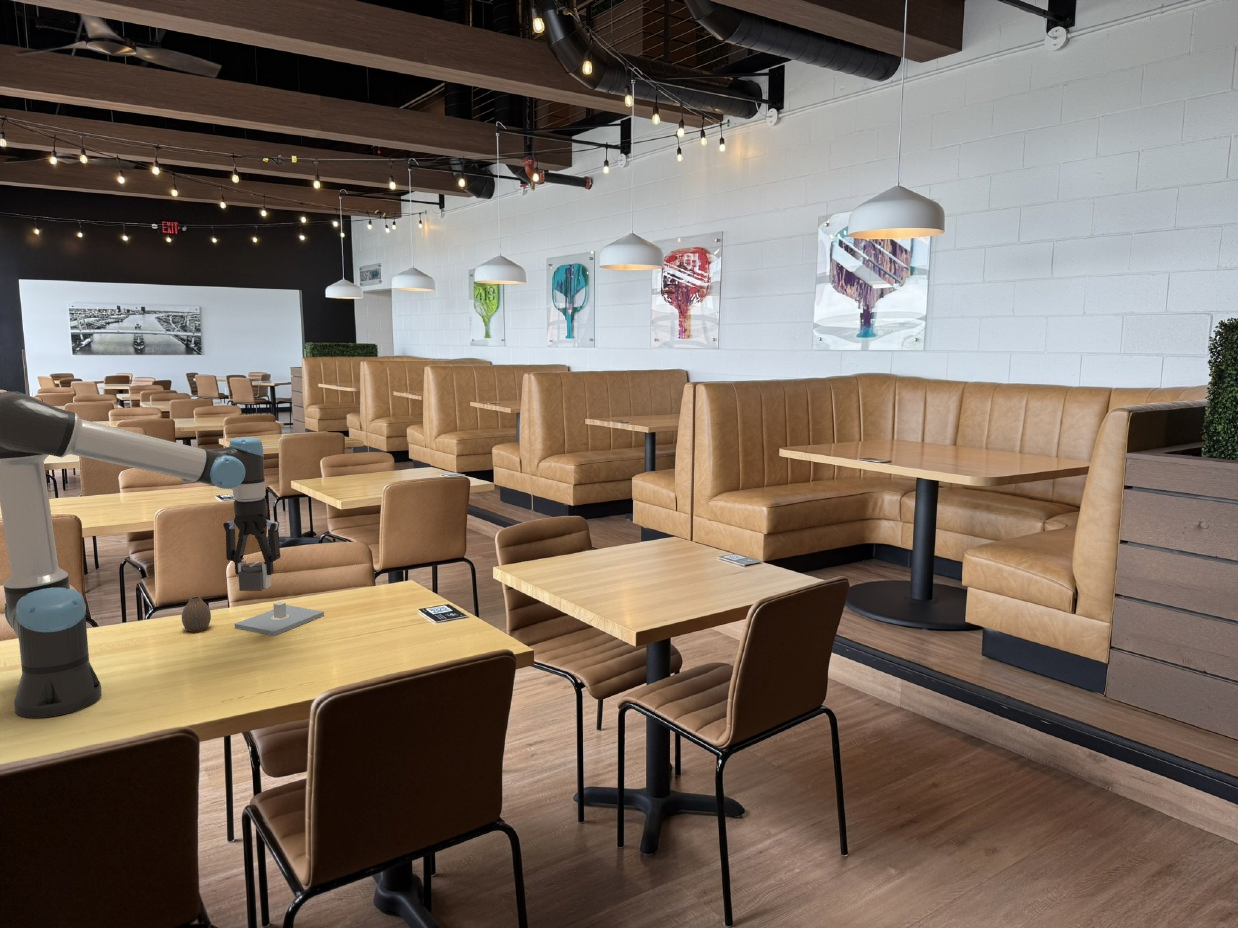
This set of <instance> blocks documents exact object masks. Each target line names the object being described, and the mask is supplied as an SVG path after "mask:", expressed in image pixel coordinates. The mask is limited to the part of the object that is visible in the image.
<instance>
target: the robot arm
mask: <svg viewBox="0 0 1238 928" xmlns="http://www.w3.org/2000/svg"><path fill="white" fill-rule="evenodd" d="M263 447H264V446H263V441H262V440H261V439H260V438H257V437H251V436H250V437H249V436H247V437H245V436H244V437H237V438H231V439H230V440H229V446H227V447H222V448H205V449H203V448H200V447H195V446H191V445H188V444H187V445H186V444H183V443H180V442H179V443H178V442H175V441H171V440H166V439H163V438H158V437H155V436H150V435H146V434H143V433H138V432H135V431H131V430H126V429H122V428H117V427H114V426H110V425H106V424H102V423H97V422H94V421H89V420H85V419H82V418H80V416H79V415H78V414H77V412H73V411H70V410H66V409H62V408H59V407H56V406H54V405H51V404H48V403H47V402H44V401H42V400H40V399H38V398H36V397H33V396H31V395H29V394H27V393H24V392H21V391H20V392H19V391H4V392H3V391H1V392H0V512H1V518H2V520H1V521H2V525H3V531H4V537H5V538H4V539H5V546H6V552H7V559H8V565H9V571H10V575H9V576H8V578H7V579H6V580H4V582H3V583H2V584H3V592H4V597H5V603H4V616H5V619H6V622H7V623H8V625H9V626H10V627H11V628H12V630H13V631H14V633H15V634H16V636H17V638H18V643H19V644H18V645H19V655H20V663H21V664H20V665H21V672H22V673H21V677H20V680H19V684H18V686H17V690H16V694H15V697H14V702H13V703H14V704H13V705H14V713H15V714H16V715H18V716H19V717H23V718H29V719H31V718H32V719H37V718H38V719H41V718H43V719H44V718H50V717H57V716H62V715H68V714H70V713H74V712H77V711H80V710H82V709H86V707H89V706H91V705H93V704H95V703H96V702H97V701H99V700H100V699H101V698H102V695H103V693H102V684H101V682H100V680H99V678H98V676H97V674H96V672H95V670H94V668H93V666H92V663H91V662H90V655H89V654H90V653H89V645H88V644H89V643H88V631H87V629H88V628H87V618H86V616H87V615H86V613H87V612H86V611H87V607H86V606H87V605H86V603H85V600H84V598H85V597H84V596H83V594H82V593H81V592H79V591H78V590H76V589H73V588H71V586H70V585H71V584H70V578H69V573H68V572H67V571H66V570H64V569H62V568H60V567H59V562H58V561H59V560H58V554H57V552H58V551H57V547H56V538H55V533H54V525H53V518H52V513H51V512H52V510H51V503H50V498H49V490H48V489H49V488H48V483H47V476H46V469H45V460H46V459H47V458H48V457H49V456H53V457H58V458H65V457H66V456H68V455H72V456H76V457H82V458H86V459H90V460H91V459H92V460H96V461H100V462H105V463H109V464H115V465H118V466H122V467H129V468H131V469H132V468H133V469H136V470H137V469H138V470H142V471H147V472H151V473H155V474H160V475H166V476H169V477H174V478H178V479H179V478H180V480H181V481H182V482H185V483H187V482H188V483H189V482H191V483H192V482H193V483H202V484H205V485H210V486H213V487H217V488H219V489H226V490H231V489H232V497H233V499H234V501H233V509H234V511H233V512H234V519H233V520H229V521H227V522H224V523H223V524H222V525H223V528H224V531H225V555H226V557H225V558H226V560H227V561H231V562H233V564H234V572H235V574H236V576H238V572H240V571H242V566H243V565H244V564H247V561H246V560H244V559H245V557H244V555H245V550H246V547H247V542H248V538H249V535H252V536H254V538H255V539H256V540H257V543H258V546H259V548H260V552H261V555H262V557H263V560H264V561H263V564H262V571H263V586H264V588H265V589H269V587H271V586H272V577H271V576H272V575H273V574H274V571H275V570H274V562H276V561H277V560H279V559H281V549H280V540H279V539H280V538H279V527H280V522H279V521H272V520H269V518H268V515H267V513H268V512H267V510H268V507H267V499H266V498H265V496H266V481H265V460H264V458H265V455H264V448H263ZM266 526H267V529H268V537H269V541H268V538H267V532H266V530H265V528H266ZM236 528H237V529H238V531H239V532H238V535H237V537H238V539H237V543H236Z"/></svg>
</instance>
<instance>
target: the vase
mask: <svg viewBox="0 0 1238 928" xmlns="http://www.w3.org/2000/svg"><path fill="white" fill-rule="evenodd" d="M211 620H212V613H211V609H210V607H209V606H208V604H206V602H205V601H204V600H203V599H202V597H201V596H197V595H196V596H192V597H190V598H189V600H188V602H187V603H186V604H185V606H184V607H183V609H182V612H181V622H182V625H183V627H184V629H186V630H187V631H188V632H191V633H197V632H202V631H204V630H206V629H207V628H208V626H210V622H211Z"/></svg>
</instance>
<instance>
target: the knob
mask: <svg viewBox="0 0 1238 928" xmlns="http://www.w3.org/2000/svg"><path fill="white" fill-rule="evenodd" d="M263 563H264V561H260V560H259V561H256V562H249V563H246V564H244V565H243V566H242V571H240V572H238V575H237V576H238V587H239V589H238V590H239V592H262V591H263V590H266V588H264V586H263V571H262V564H263Z"/></svg>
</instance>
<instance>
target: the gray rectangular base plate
mask: <svg viewBox="0 0 1238 928" xmlns="http://www.w3.org/2000/svg"><path fill="white" fill-rule="evenodd" d="M324 616H325V611H322V610H316V609H311V608H306V607H300V606H294V605H289V604H286V602H284V601H278V602H276V603H273V609H271V610H269V611H265V612H262V613H260V614H257V615H255V616H252V617H249V618H247V619H244V620H241V621H238V622H235V623H234V629H237V630H238V629H239V630H243V631H247V632H248V631H249V632H251V633H258V634H262V635H267V636H273V637H275V636H277V635H279V634H283V633H285V632H288V631H290V630H292V629H295V628H298V627H299V626H302V625H304V624H307V623H310V622H312V621H315V620H317V619H320V618H322V617H324ZM319 617H320V618H319ZM314 619H315V620H314Z"/></svg>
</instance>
